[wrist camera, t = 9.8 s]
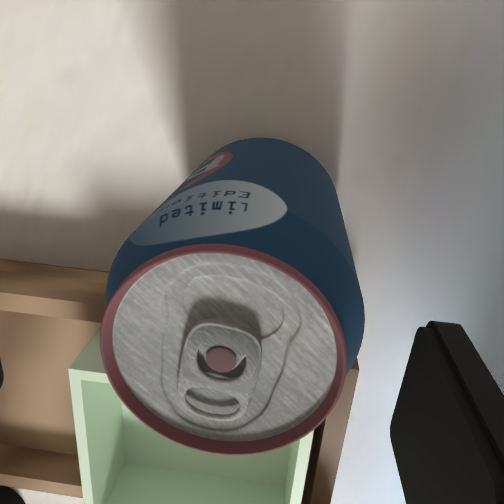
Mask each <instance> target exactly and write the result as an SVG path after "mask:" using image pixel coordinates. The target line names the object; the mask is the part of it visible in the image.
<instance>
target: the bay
mask: <svg viewBox="0 0 504 504" xmlns="http://www.w3.org/2000/svg"><path fill="white" fill-rule="evenodd" d="M108 275H109V272H101V271H93V270H85V269H76V268H68V267H60V266H51V265H43V264H35V263H26V262H18V261H9V260H1V259H0V359H1V364H2V368H3V373H4V380H3V384H2V386H1V388H0V485H3V486H9V487H15V488H22V489H28V490H34V491H41V492H47V493H53V494H60V495H66V496H72V497H79V498H83V493H82V484H81V475H80V467H79V458H78V449H77V441H76V432H75V423H74V415H73V406H72V398H71V389H70V380H69V372H68V368H69V367H70V366H71V364H72V363H73V362H74V360H75V359H76V358H77V356H78V355H79V354H80V353H81V351H82V350H83V349H84V347H85V346H86V345H87V344H88V342H89V341H90V340H91V338H92V337H93V336H94V334H95V333H96V332H97V331H98V329H99V328H100V327H101V323H102V318H103V315H104V312H105V310H106V308H105V294H106V285H107V280H108ZM358 373H359V367H358V361H357V358H356V360H355V362H354V364H353V366H352V368H351V369H350V371H349V373H348V374H347V376H346V378H345V382H344V386H343V389H342V392H341V395H340V397H339V399H338V401H337V403H336V405H335V406H334V408H333V409H332V411H331V412H330V414H329V415H328V416H327V417H326V419H325V420H324V421H323V422H322V423H321V424H320V425H319V426H318V427H317V428H315V429H314V433H313V439H312V444H311V450H310V456H309V461H308V467H307V472H306V478H305V484H304V489H303V495H302V501H301V504H330V502H331V497H332V493H333V488H334V483H335V479H336V474H337V469H338V465H339V460H340V456H341V451H342V446H343V442H344V437H345V433H346V428H347V423H348V419H349V414H350V410H351V405H352V400H353V396H354V391H355V386H356V382H357V377H358Z"/></svg>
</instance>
